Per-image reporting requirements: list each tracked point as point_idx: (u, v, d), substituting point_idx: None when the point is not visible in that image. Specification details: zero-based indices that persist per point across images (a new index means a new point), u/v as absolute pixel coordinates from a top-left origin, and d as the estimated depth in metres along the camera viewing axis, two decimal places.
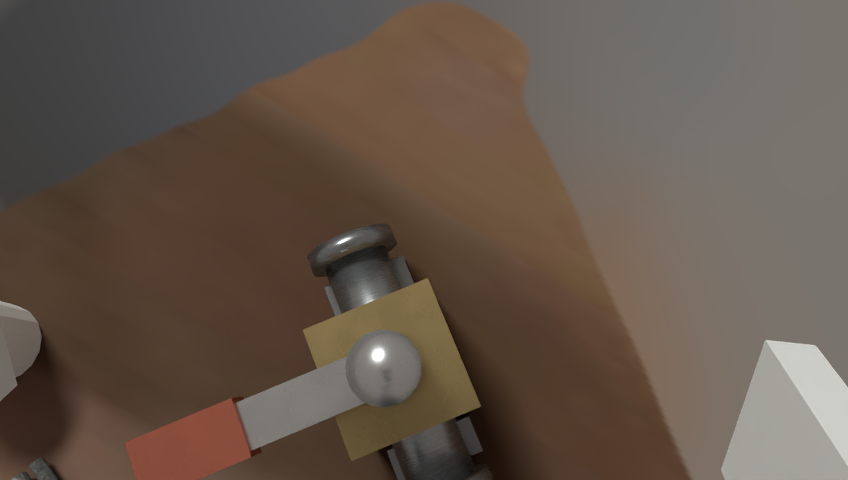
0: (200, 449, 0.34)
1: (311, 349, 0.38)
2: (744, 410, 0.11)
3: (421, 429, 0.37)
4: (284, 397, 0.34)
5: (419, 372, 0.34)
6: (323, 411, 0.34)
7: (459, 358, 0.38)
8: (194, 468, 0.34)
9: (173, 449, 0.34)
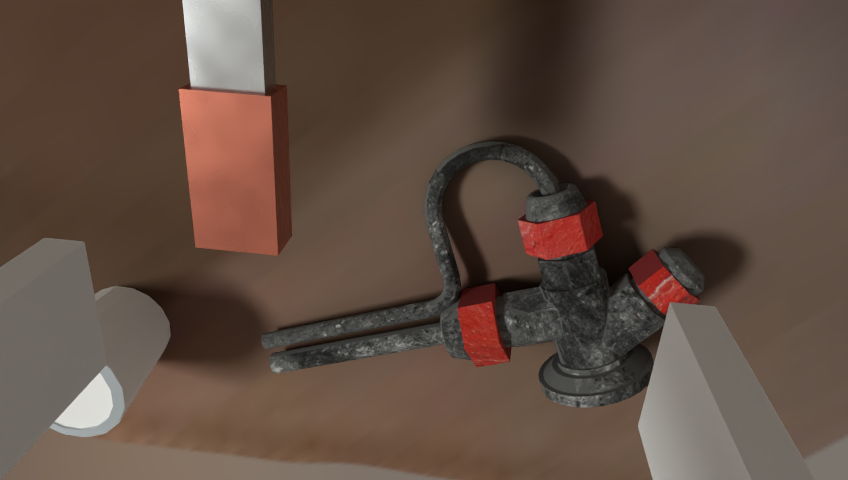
0: (236, 160, 0.23)
1: None
2: (655, 368, 0.12)
3: None
4: (204, 10, 0.21)
5: None
6: None
7: None
8: (258, 178, 0.23)
9: (224, 193, 0.23)
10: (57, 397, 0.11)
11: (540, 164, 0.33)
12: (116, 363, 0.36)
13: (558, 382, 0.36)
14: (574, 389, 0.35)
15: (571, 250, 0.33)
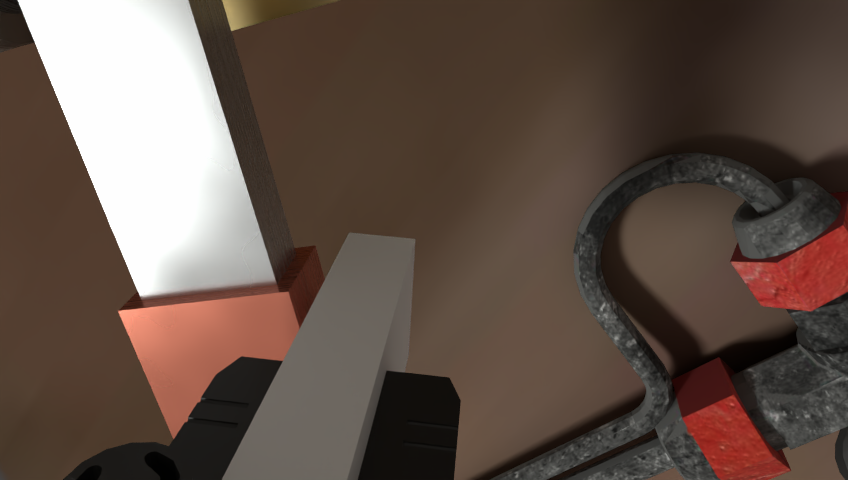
0: None
1: None
2: None
3: None
4: (125, 160, 0.11)
5: None
6: (173, 40, 0.10)
7: None
8: None
9: None
10: None
11: (740, 169, 0.21)
12: None
13: None
14: None
15: None
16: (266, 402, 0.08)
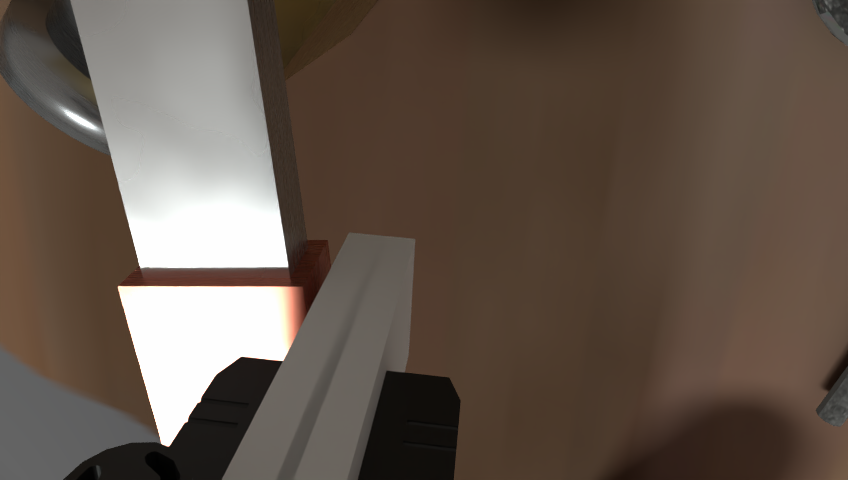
0: None
1: (297, 44, 0.13)
2: None
3: None
4: (149, 132, 0.10)
5: None
6: (220, 13, 0.09)
7: None
8: None
9: None
10: None
11: None
12: None
13: None
14: None
15: None
16: (266, 402, 0.08)
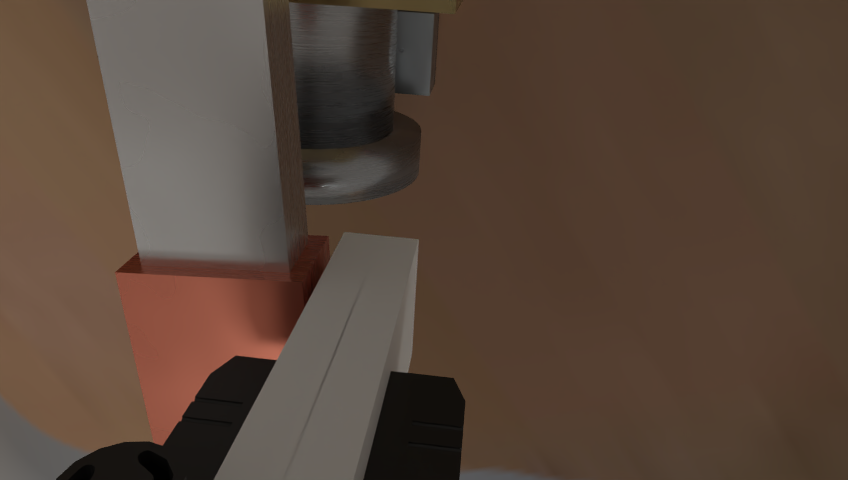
0: None
1: None
2: None
3: None
4: (155, 118, 0.10)
5: None
6: (234, 3, 0.09)
7: None
8: None
9: None
10: None
11: None
12: None
13: None
14: None
15: None
16: (260, 401, 0.08)
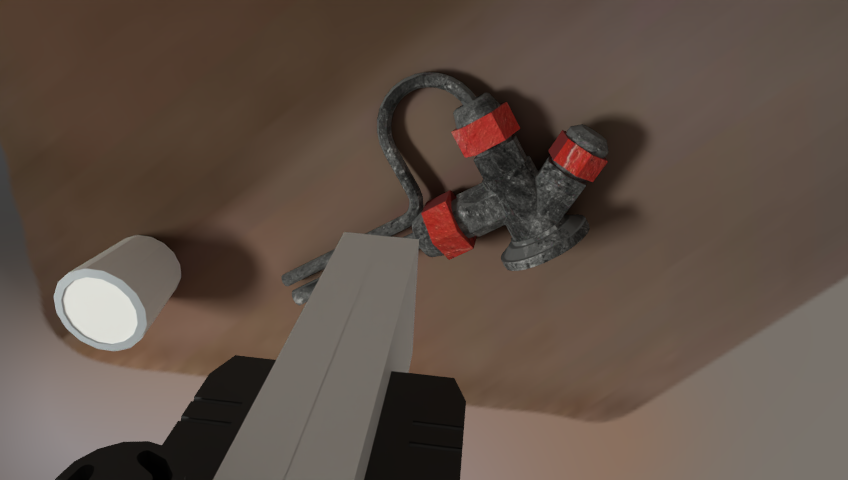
0: None
1: None
2: None
3: None
4: None
5: None
6: None
7: None
8: None
9: None
10: None
11: (456, 82, 0.42)
12: (140, 290, 0.46)
13: (512, 254, 0.44)
14: (523, 255, 0.43)
15: (493, 142, 0.41)
16: (259, 401, 0.08)
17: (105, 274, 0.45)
